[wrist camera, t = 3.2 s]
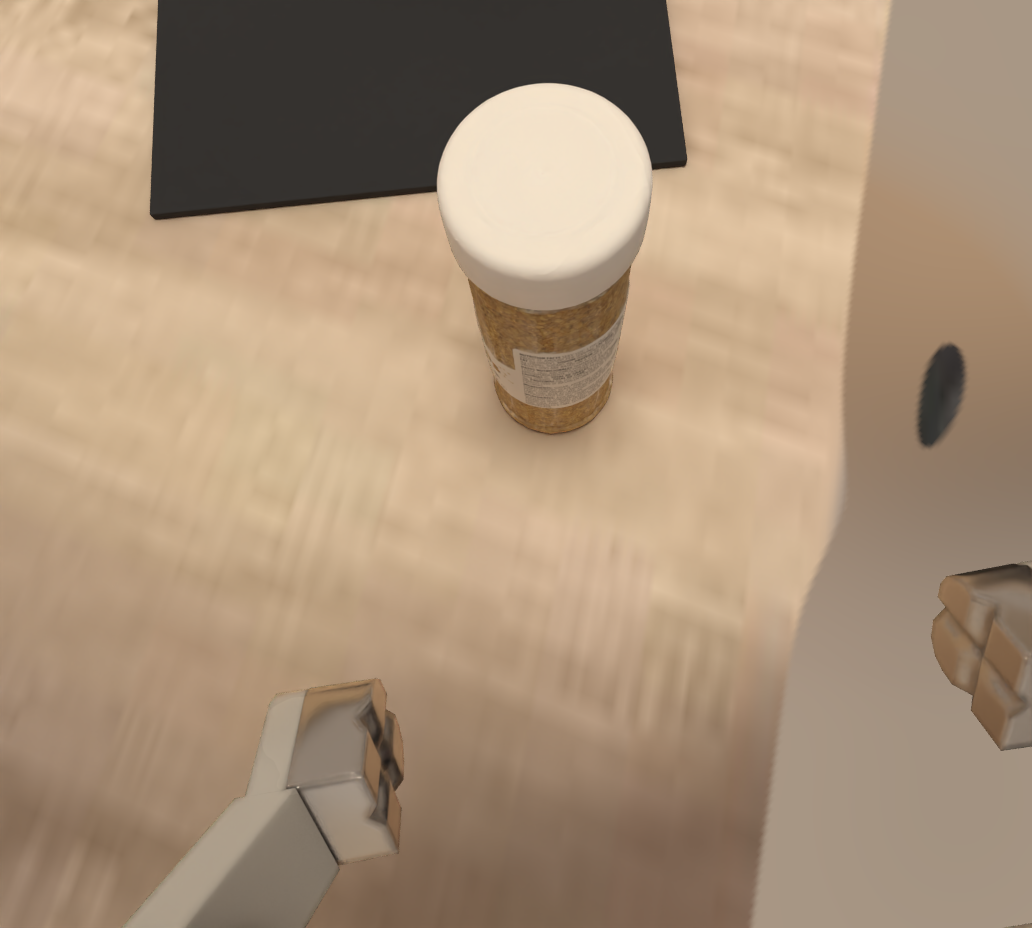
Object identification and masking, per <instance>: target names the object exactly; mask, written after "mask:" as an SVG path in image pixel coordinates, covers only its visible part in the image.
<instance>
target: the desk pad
mask: <svg viewBox="0 0 1032 928" xmlns="http://www.w3.org/2000/svg"><path fill="white" fill-rule="evenodd" d="M540 83H557V84H565V85H571V86H575V87H579V88H582V89H585V90H588V91H592V92H594V93H596V94H598V95H600V96H602V97H604V98H605V99H607V100H608V101H610V102H611V103H613V104H614V105H615V106H617V107H618V108H619V109H620V110H621V111H622V112H624V113H625V114H626V115H627V116H628V117H629V119H630V120H631V121H632V123H633V124H634V125H635V127H636V128H637V129H638V131H639V133H640V134H641V136H642V138H643V140H644V142H645V144H646V147H647V150H648V153H649V157H650V161H651V166H652V169H655V168H665V167H675V166H684V165H686V162H687V154H686V146H685V139H684V132H683V124H682V117H681V109H680V102H679V94H678V87H677V79H676V72H675V64H674V57H673V49H672V42H671V34H670V27H669V20H668V12H667V5H666V0H158V20H157V45H156V71H155V96H154V122H153V147H152V172H151V198H150V215H151V216H152V217H153V218H154V219H162V218H172V217H182V216H192V215H202V214H211V213H221V212H231V211H241V210H251V209H261V208H271V207H280V206H290V205H300V204H310V203H320V202H330V201H340V200H349V199H359V198H369V197H379V196H389V195H399V194H409V193H418V192H428V191H437V175H438V169H439V164H440V161H441V158H442V155H443V152H444V150H445V147H446V145H447V143H448V141H449V139H450V137H451V136H452V134H453V133H454V131H455V130H456V128H457V127H458V126H459V124H460V123H461V122H462V121H463V120H464V119H465V117H466V116H468V115H469V114H470V113H471V112H472V111H473V110H474V109H475V108H477V107H478V106H479V105H481V104H482V103H484V102H485V101H486V100H488V99H490V98H492V97H494V96H496V95H498V94H500V93H502V92H505V91H508V90H510V89H513V88H517V87H521V86H525V85H531V84H540Z"/></svg>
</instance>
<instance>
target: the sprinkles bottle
mask: <svg viewBox="0 0 1032 928" xmlns="http://www.w3.org/2000/svg"><path fill="white" fill-rule="evenodd" d="M651 195H652V166H651V161H650V157H649V153H648V150H647V147H646V144H645V142H644V140H643V138H642V136H641V134H640V133H639V131H638V129H637V128H636V127H635V125H634V124H633V123H632V121H631V120H630V119H629V117H628V116H627V115H626V114H625V113H624V112H622V111H621V110H620V109H619V108H618V107H617V106H615V105H614V104H613V103H611V102H610V101H608V100H607V99H605V98H604V97H602V96H600V95H598V94H596V93H594V92H592V91H588V90H585V89H582V88H579V87H575V86H571V85H565V84H557V83H540V84H531V85H525V86H521V87H517V88H513V89H510V90H508V91H505V92H502V93H500V94H498V95H496V96H494V97H492V98H490V99H488V100H486V101H485V102H484V103H482V104H481V105H479V106H478V107H477V108H475V109H474V110H473V111H472V112H471V113H470V114H469V115H468V116H466V117H465V119H464V120H463V121H462V122H461V123H460V124H459V126H458V127H457V128H456V130H455V131H454V133H453V134H452V136H451V137H450V139H449V141H448V143H447V145H446V147H445V150H444V152H443V155H442V158H441V161H440V164H439V169H438V175H437V196H438V204H439V209H440V213H441V217H442V221H443V225H444V228H445V231H446V234H447V238H448V241H449V244H450V247H451V250H452V252H453V255H454V257H455V259H456V261H457V263H458V265H459V266H460V268H461V269H462V271H463V272H464V273H465V275H466V276H467V277H468V281H469V285H470V289H471V293H472V296H473V302H474V308H475V314H476V318H477V323H478V326H479V329H480V332H481V336H482V340H483V343H484V347H485V350H486V354H487V357H488V361H489V364H490V367H491V370H492V372H493V374H494V384H495V388H496V393H497V395H498V397H499V400H500V402H501V404H502V406H503V407H504V409H505V410H506V412H507V413H508V414H509V415H511V416H512V417H513V418H514V419H515V420H516V421H517V422H519V423H521V424H523V425H525V426H526V427H528V428H530V429H533V430H537V431H540V432H545V433H550V434H553V433H559V432H567V431H570V430H573V429H576V428H579V427H581V426H583V425H584V424H586V423H588V422H589V421H591V420H592V419H594V418H595V416H596V415H597V414H598V412H599V411H600V410H601V409H602V408H603V406H604V405H605V403H606V401H607V399H608V397H609V394H610V391H611V387H612V381H613V373H612V368H613V366H614V362H615V358H616V353H617V348H618V344H619V339H620V334H621V329H622V325H623V320H624V314H625V309H626V303H627V298H628V293H629V285H630V282H629V275H630V268H631V264H632V263H633V261H634V259H635V257H636V255H637V254H638V252H639V249H640V247H641V244H642V242H643V238H644V234H645V230H646V226H647V221H648V216H649V209H650V203H651Z"/></svg>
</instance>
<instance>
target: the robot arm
mask: <svg viewBox="0 0 1032 928" xmlns="http://www.w3.org/2000/svg"><path fill="white" fill-rule="evenodd" d="M938 598H939V599H940V601H941V602H942V603H943V604H944V606H945V608H944V609H943V610H942V611H941V612H940V613H939V614H938V615H937V617H936V618H935V619H934V620H933V626H932V634H931V639H932V644H933V649H934V653H935V657H936V659H937V661H938V663H939V665H940V667H941V669H942V671H943V672H944V674H945V675H946V676H947V678H948V679H949V681H950V682H951V684H952V685H954V686H956V687H958V688H960V689H962V690H964V691H965V692H968V693H969V694H971V695H973V698H972V706H971V711H972V712H973V714H974V715H975V716H976V718H977V719H978V720H979V722H980V723H981V725H982V726H983V727H984V729H985V730H986V731H987V733H988V734H989V735H990V737H991V738H992V739H993V741H994V742H995V743H996V745H997V746H998V748H999V749H1000V750H1001V751H1003V750H1010V749H1017V748H1024V747H1030V746H1032V561H1027V562H1021V563H1018V564H1009V565H1004V566H999V567H993V568H988V569H982V570H978V571H972V572H967V573H961V574H956V575H951V576H946V578H945V579H944V580H943V581H942V583H941V584H940V588H939V593H938ZM386 699H387V693H386V691H385V689H384V687H383V684H382V682H381V680H380V679H376V678H374V679H368V680H361V681H354V682H348V683H341V684H335V685H328V686H321V687H315V688H310V689H305V690H299V691H292V692H286V693H279V694H276V695H275V696H274V698H273V699H272V701H271V702H270V704H269V706H268V710H267V714H266V718H265V721H264V725H263V729H262V733H261V737H260V741H259V744H258V748H257V752H256V756H255V760H254V764H253V767H252V771H251V775H250V779H249V783H248V787H247V790H246V794H245V796H244V797H239V798H235V799H234V800H233V801H232V802H231V803H230V804H229V805H228V807H227V808H226V809H225V810H224V811H223V812H222V813H221V815H220V816H219V817H218V818H217V819H216V820H215V821H214V823H213V824H212V825H211V826H210V827H209V828H208V829H207V831H206V832H205V833H204V834H203V835H202V836H201V837H200V838H199V840H198V841H197V842H196V843H195V844H194V845H193V846H192V848H191V849H190V850H189V851H188V852H187V853H186V854H185V856H184V857H183V858H182V859H181V860H180V861H179V862H178V864H177V865H176V866H175V867H174V868H173V869H172V870H171V872H170V873H169V874H168V875H167V876H166V877H165V878H164V880H163V881H162V882H161V883H160V884H159V885H158V886H157V888H156V889H155V890H154V891H153V892H152V893H151V894H150V895H149V897H148V898H147V899H146V900H145V901H144V902H143V903H142V905H141V906H140V907H139V908H138V909H137V910H136V911H135V913H134V914H133V915H132V916H131V917H130V918H129V919H128V921H127V922H126V923H125V924H124V925H123V926H122V927H121V928H305V927H306V926H307V924H308V922H309V921H310V919H311V917H312V915H313V914H314V912H315V910H316V909H317V907H318V905H319V904H320V902H321V900H322V898H323V897H324V895H325V893H326V892H327V890H328V888H329V887H330V885H331V883H332V881H333V880H334V878H335V876H336V875H337V873H338V871H339V870H340V869H339V866H338V865H343V864H348V863H353V862H358V861H363V860H368V859H373V858H378V857H383V856H388V855H393V854H398V853H399V841H400V826H401V811H402V808H401V806H400V803H399V801H398V798H397V796H396V794H395V791H396V789H397V788H398V786H399V785H400V784H401V782H402V781H403V777H404V752H403V740H402V736H401V732H400V727H399V724H398V721H397V719H396V716H395V714H393V713H392V712H390V711H388V710H386ZM1006 928H1032V923H1030V924H1024V925H1018V926H1012V927H1006Z"/></svg>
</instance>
